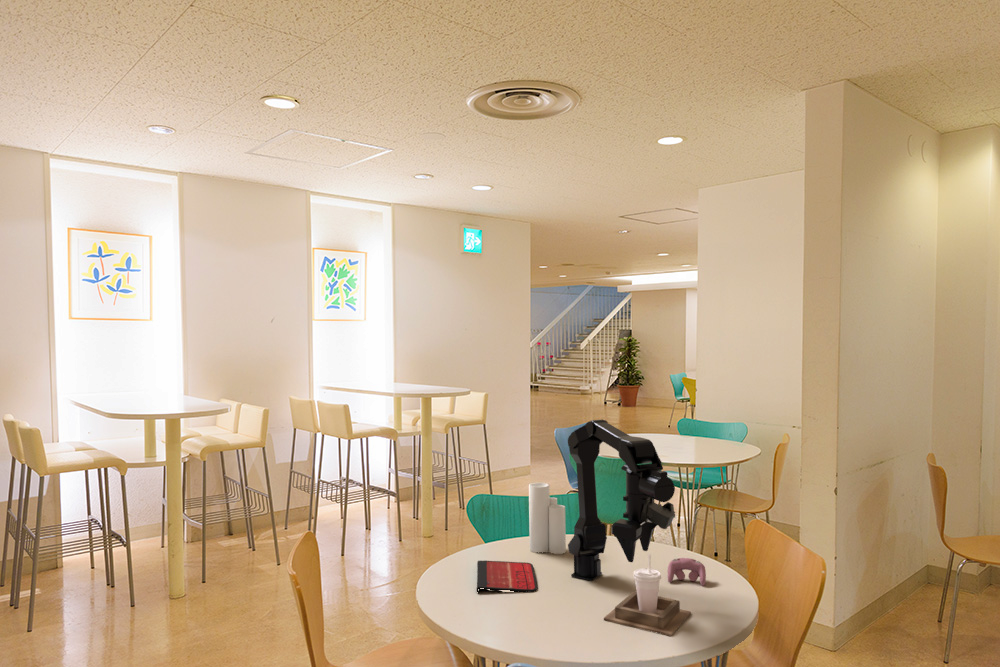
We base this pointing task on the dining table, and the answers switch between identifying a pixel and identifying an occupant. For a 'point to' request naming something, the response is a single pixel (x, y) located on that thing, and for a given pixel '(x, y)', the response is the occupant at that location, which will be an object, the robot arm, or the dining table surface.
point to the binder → (506, 576)
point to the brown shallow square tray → (649, 615)
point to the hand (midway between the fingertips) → (638, 556)
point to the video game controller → (686, 564)
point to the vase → (545, 521)
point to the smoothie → (647, 587)
